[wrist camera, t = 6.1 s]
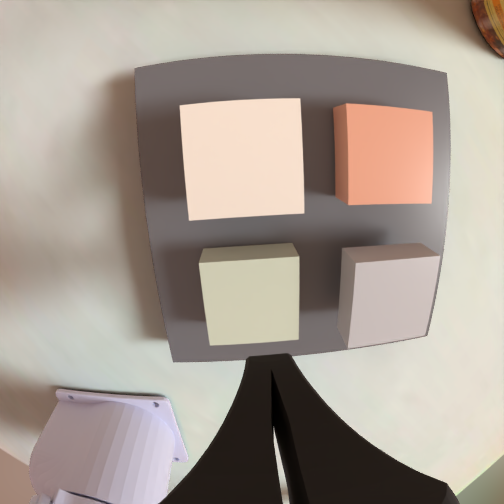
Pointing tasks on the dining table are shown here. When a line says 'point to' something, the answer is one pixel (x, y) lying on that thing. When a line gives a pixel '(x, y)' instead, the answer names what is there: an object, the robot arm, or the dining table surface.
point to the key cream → (243, 158)
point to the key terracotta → (383, 155)
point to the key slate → (386, 293)
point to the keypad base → (315, 187)
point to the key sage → (251, 293)
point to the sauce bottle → (490, 22)
